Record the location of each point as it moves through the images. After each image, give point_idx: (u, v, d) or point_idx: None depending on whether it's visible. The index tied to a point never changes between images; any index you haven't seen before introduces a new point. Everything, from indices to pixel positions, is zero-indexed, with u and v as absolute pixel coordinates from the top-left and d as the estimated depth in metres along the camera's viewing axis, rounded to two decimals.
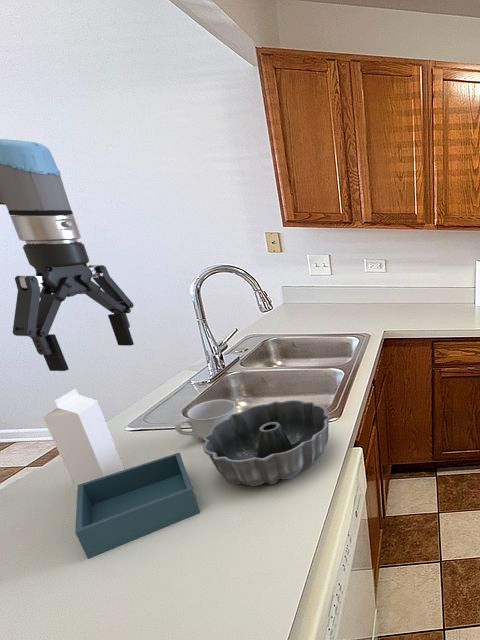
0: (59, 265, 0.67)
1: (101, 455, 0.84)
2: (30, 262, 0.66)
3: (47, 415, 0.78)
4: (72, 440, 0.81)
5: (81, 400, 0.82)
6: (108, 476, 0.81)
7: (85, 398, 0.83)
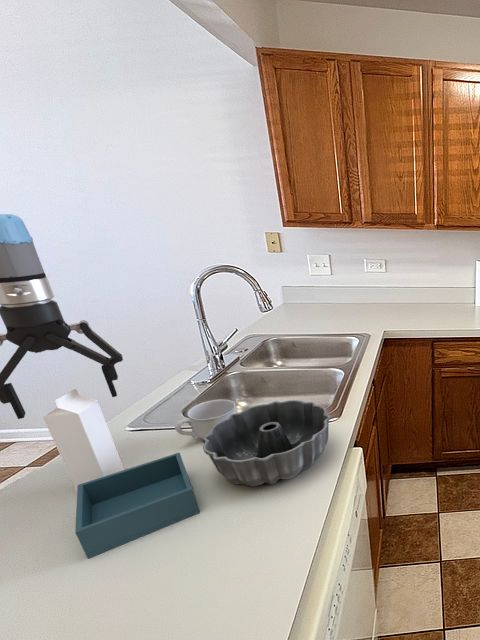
0: (12, 327, 0.71)
1: (101, 455, 0.84)
2: None
3: (47, 415, 0.78)
4: (72, 440, 0.81)
5: (81, 400, 0.82)
6: (108, 476, 0.81)
7: (85, 398, 0.83)
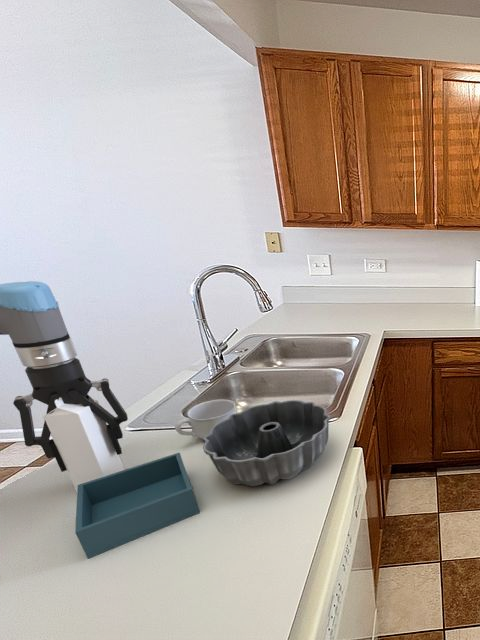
0: (39, 386, 0.75)
1: (101, 455, 0.84)
2: None
3: (47, 415, 0.78)
4: (72, 440, 0.81)
5: None
6: (108, 476, 0.81)
7: None
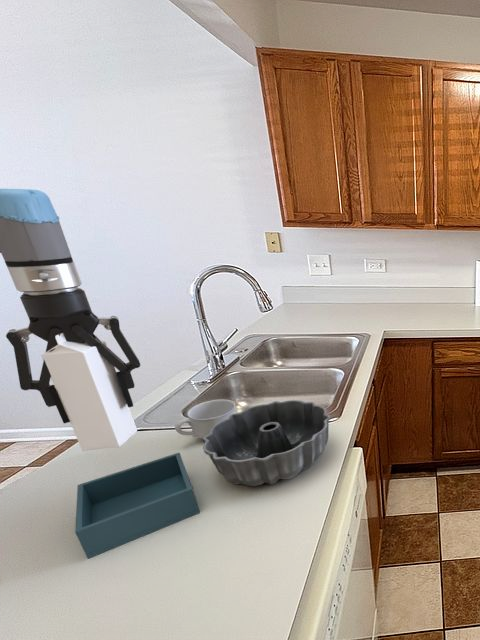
0: (36, 317, 0.63)
1: (110, 406, 0.72)
2: None
3: (46, 354, 0.66)
4: (76, 385, 0.68)
5: None
6: (108, 476, 0.81)
7: None
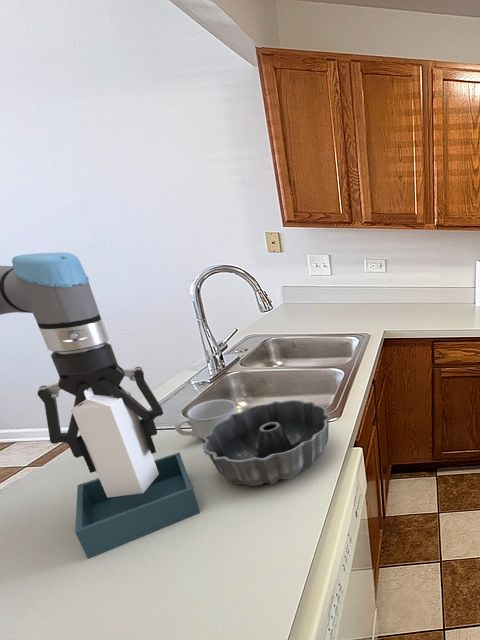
0: (66, 375, 0.65)
1: (134, 454, 0.74)
2: None
3: (75, 408, 0.68)
4: (103, 436, 0.70)
5: None
6: None
7: None
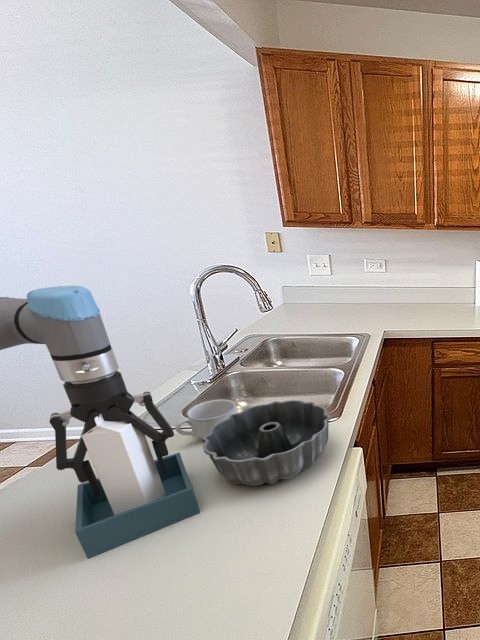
0: (78, 404, 0.67)
1: (143, 477, 0.76)
2: None
3: (86, 435, 0.70)
4: (112, 461, 0.72)
5: None
6: None
7: None
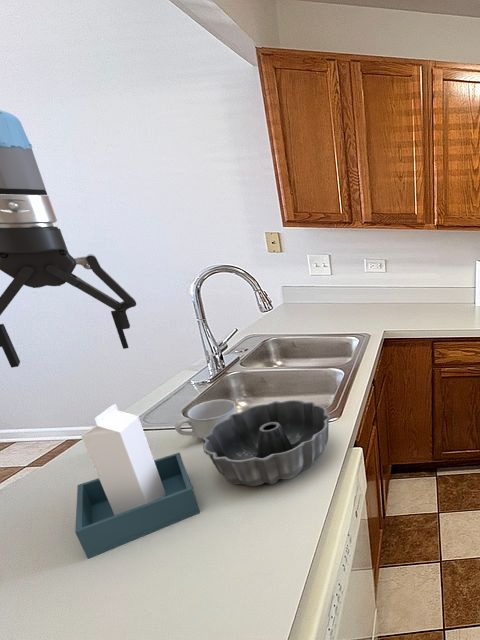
0: (6, 252, 0.58)
1: (143, 477, 0.76)
2: None
3: (86, 435, 0.70)
4: (112, 461, 0.72)
5: (121, 416, 0.74)
6: None
7: (125, 414, 0.75)
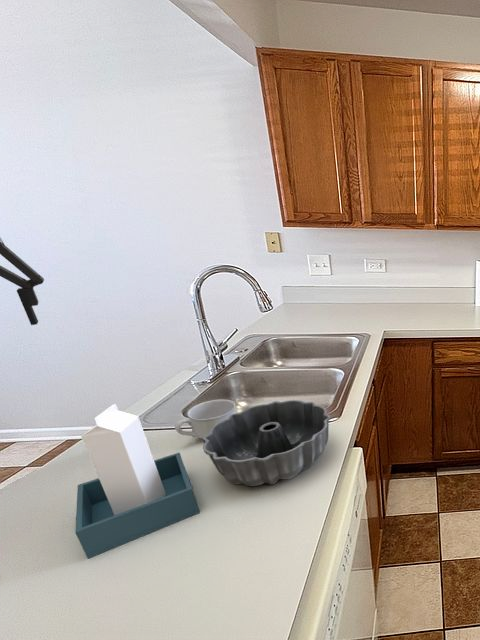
0: None
1: (143, 477, 0.76)
2: None
3: (86, 435, 0.70)
4: (112, 461, 0.72)
5: (121, 416, 0.74)
6: None
7: (125, 414, 0.75)
